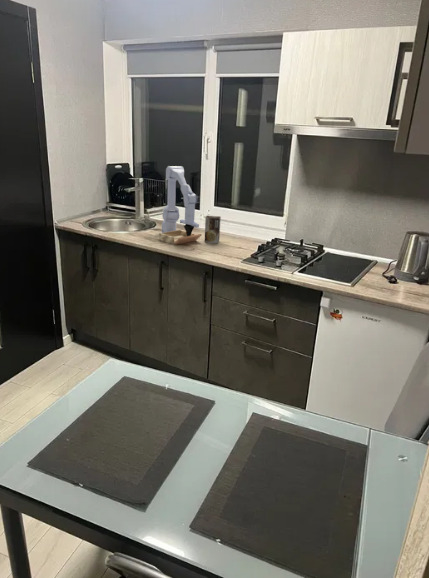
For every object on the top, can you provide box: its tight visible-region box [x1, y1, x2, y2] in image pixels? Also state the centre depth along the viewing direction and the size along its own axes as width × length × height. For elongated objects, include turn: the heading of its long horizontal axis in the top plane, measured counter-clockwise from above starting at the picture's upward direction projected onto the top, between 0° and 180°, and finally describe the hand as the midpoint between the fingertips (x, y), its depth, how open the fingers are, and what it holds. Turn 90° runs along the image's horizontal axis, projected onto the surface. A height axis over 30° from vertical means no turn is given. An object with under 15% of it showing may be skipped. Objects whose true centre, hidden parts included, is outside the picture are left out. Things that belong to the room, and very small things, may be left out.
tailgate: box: [173, 233, 202, 245], centre depth 260 cm, size 1×18×6 cm
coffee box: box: [204, 215, 222, 244], centre depth 266 cm, size 9×6×16 cm
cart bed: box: [158, 229, 195, 245], centre depth 266 cm, size 13×18×4 cm
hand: (188, 237), depth 259 cm, fingers closed, pressing on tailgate
